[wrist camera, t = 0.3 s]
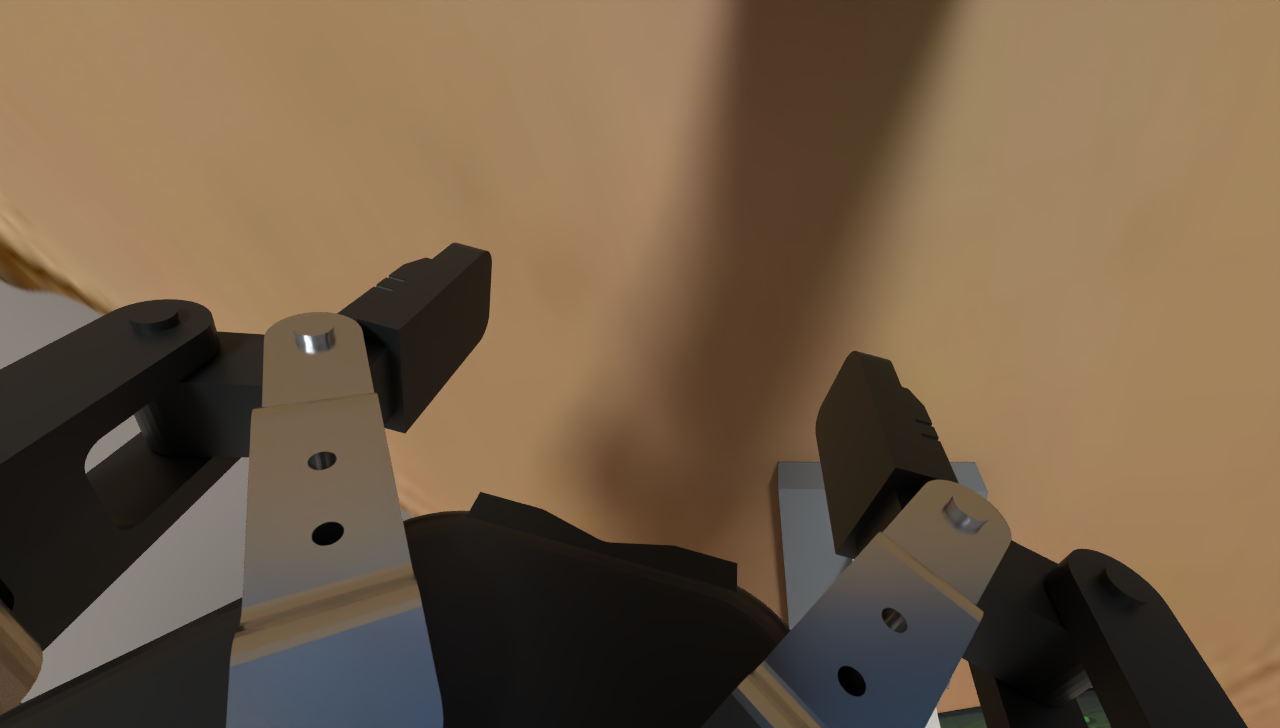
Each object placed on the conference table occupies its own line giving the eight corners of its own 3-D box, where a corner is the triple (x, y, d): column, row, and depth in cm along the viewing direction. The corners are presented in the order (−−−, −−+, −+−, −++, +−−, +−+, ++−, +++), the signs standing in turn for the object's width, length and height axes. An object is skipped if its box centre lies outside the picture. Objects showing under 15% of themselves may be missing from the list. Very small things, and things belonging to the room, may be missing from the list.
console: (777, 462, 37) (778, 502, 34) (975, 462, 34) (994, 507, 31) (791, 644, 48) (793, 686, 45) (940, 657, 45) (952, 704, 42)
